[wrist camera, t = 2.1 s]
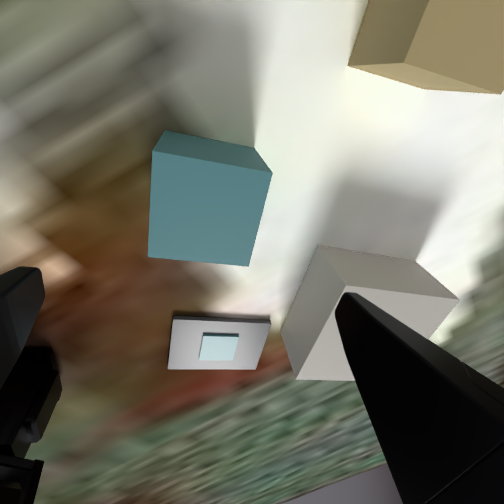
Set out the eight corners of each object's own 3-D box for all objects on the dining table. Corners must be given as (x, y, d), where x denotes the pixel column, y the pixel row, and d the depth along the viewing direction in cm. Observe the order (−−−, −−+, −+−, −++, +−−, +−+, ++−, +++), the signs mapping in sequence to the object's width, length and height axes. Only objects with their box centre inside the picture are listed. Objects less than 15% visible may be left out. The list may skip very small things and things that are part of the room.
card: (168, 365, 25) (167, 371, 25) (173, 315, 22) (172, 321, 22) (254, 365, 27) (255, 371, 27) (270, 320, 24) (271, 325, 24)
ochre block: (346, 66, 15) (403, 62, 11) (389, -65, 13) (484, -134, 8) (423, 89, 16) (500, 94, 12) (475, -26, 14) (595, -70, 10)
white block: (279, 329, 25) (295, 379, 21) (316, 243, 21) (346, 285, 17) (364, 335, 28) (394, 381, 24) (413, 259, 23) (460, 299, 19)
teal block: (159, 213, 18) (147, 256, 14) (165, 129, 15) (152, 150, 11) (237, 224, 19) (248, 266, 15) (254, 147, 17) (272, 172, 12)
